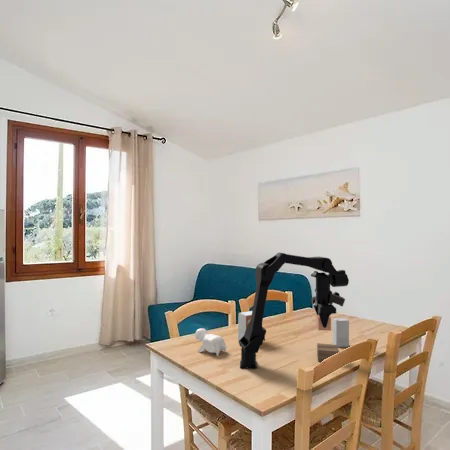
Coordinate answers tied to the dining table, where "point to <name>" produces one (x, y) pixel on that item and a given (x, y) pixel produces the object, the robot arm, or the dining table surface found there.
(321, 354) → the walnut block
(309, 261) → the robot arm
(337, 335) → the skincare box
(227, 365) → the dining table surface
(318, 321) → the terracotta cube
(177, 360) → the dining table surface
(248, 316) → the small box
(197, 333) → the white animal figurine
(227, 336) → the dining table surface
